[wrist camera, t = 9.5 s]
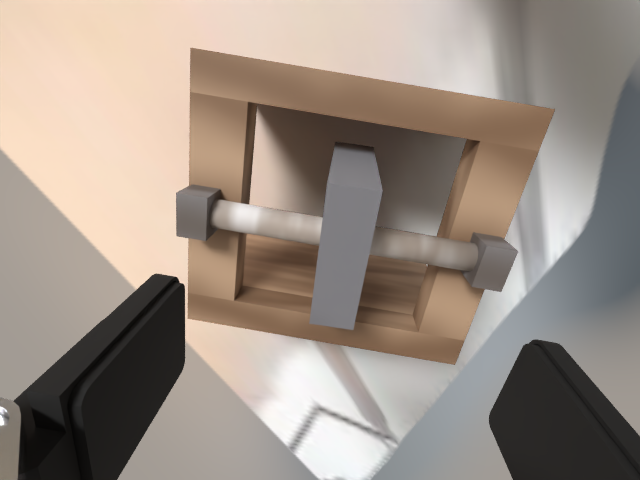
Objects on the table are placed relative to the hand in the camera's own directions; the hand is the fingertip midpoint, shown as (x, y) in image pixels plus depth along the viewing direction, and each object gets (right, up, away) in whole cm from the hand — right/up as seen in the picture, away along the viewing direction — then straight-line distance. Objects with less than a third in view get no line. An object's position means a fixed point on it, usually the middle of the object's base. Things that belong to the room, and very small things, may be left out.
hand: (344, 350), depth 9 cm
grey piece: (+1, +6, +14) cm, 15 cm away
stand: (+1, +8, +21) cm, 23 cm away
